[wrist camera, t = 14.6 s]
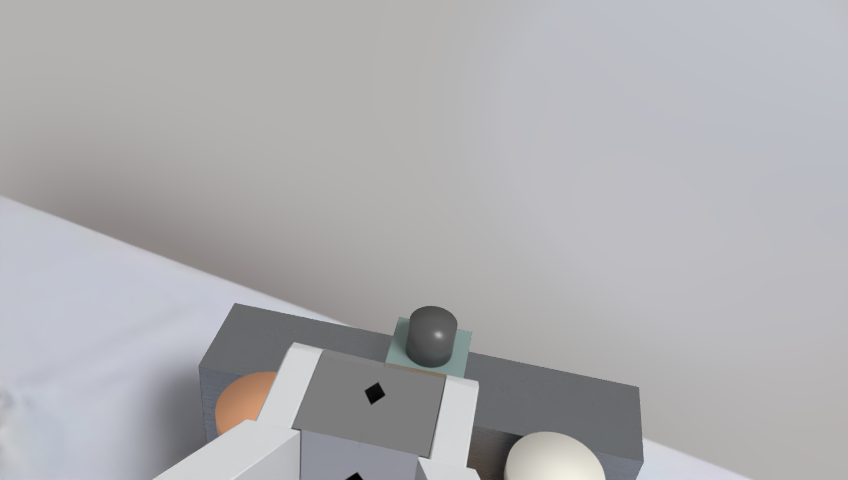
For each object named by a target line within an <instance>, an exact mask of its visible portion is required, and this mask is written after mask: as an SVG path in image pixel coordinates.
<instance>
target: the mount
mask: <svg viewBox="0 0 848 480" xmlns="http://www.w3.org/2000/svg"><path fill="white" fill-rule="evenodd" d="M392 339H393V336H390V335H386V334H381V333H376V332H371V331H366V330H362V329H357V328H352V327H347V326H343V325H338V324H333V323H328V322H323V321H319V320H314V319H309V318H304V317H299V316H295V315H290V314H285V313H280V312H275V311H271V310H266V309H261V308H256V307H251V306H247V305H242V304H237V303H235V304H234V305H233V307H232V309H231V311H230V312H229V314H228V316H227V318H226V319H225V321H224V323H223V324H222V326H221V328H220V330H219V331H218V333H217V335H216V337H215V338H214V340H213V342H212V344H211V345H210V347H209V349H208V350H207V352H206V354H205V356H204V357H203V359H202V361H201V363H200V364H199V375H200V385H201V394H202V404H203V414H204V423H205V433H206V443H207V444H208V443H209V442H211V441H213V440H214V439H216V438H217V437H219V435H218V432H217V428H216V417H215V408H216V404H217V401H218V399H219V397H220V395H221V393H222V392H223V391H224V390H225V389H226V388H227V387H228V386H229V385H230V384H231V383H233V382H234V381H236V380H238V379H239V378H241V377H244V376H246V375H249V374H253V373H258V372H278V370H279V367H280V365H281V363H282V361H283V359H284V357H285V354H286V352H287V350H288V349H289V347H290V346H291V345H292V344H293V343H294V342H296V343H300V344H304V345H308V346H313V347H317V348H321V349H328V350H332V351H336V352H340V353H344V354H349V355H353V356H357V357H361V358H365V359H370V360H374V361H378V362H382V363H385V361H386V358H387V355H388V352H389V348H390V345H391V342H392ZM464 379H469V380H474V381H478V383H479V390H478V396H477V402H476V409H475V415H474V421H473V427H472V434H471V440H470V446H469V452H468V458H467V465H466V467H467V468H471V469H475V470H476V472H477V474H478V476H479V478H480V480H504V470H505V465H506V462H507V458H508V455H509V452H510V450H511V449H512V447H513V446H514V444H515V443H516V442H517V441H519V440H520V439H521V438H523V437H525V436H527V435H529V434H532V433H537V432H555V433H560V434H564V435H567V436H569V437H571V438H573V439H576V440H577V441H579V442H580V443H582V444H583V445H585V446H586V447H587V448H588V449H589V450H590V451H591V452H592V453H593V454H594V455H595V456H596V458H597V459H598V460H599V462H600V464H601V466H602V468H603V471H604V474H605V480H636V477H637V475H638V473H639V471H640V469H641V467H642V465H643V462H644V459H643V443H642V428H641V413H640V399H639V388H638V387H635V386H630V385H626V384H621V383H616V382H611V381H607V380H602V379H597V378H592V377H587V376H582V375H578V374H573V373H568V372H563V371H558V370H554V369H549V368H544V367H539V366H534V365H529V364H524V363H520V362H515V361H511V360H506V359H501V358H496V357H491V356H486V355H482V354H477V353H472V352H468V357H467V362H466V368H465V373H464Z"/></svg>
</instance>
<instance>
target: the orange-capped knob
mask: <svg viewBox="0 0 848 480" xmlns="http://www.w3.org/2000/svg"><path fill="white" fill-rule="evenodd" d="M276 374H277V372H258V373H253V374H249V375H246V376H244V377H241V378H239V379H238V380H236V381H234V382H233V383H231V384H230V385H229V386H228V387H227V388H226V389H225V390H224V391H223V392H222V393H221V395H220V397H219V399H218V401H217V404H216V408H215V417H216V428H217V432H218V435H219V436H220V435H222V434H223V433H225V432H226V431H228V430H230V429H231V428H233V427H234V426H236V425H237V424H239V423H240V422H242V421H244V420H245V419H248V420H254V421H255V420H256V417H257V415H258V413H259V411H260V409H261V407H262V404H263V402H264V400H265V398H266V396H267V394H268V391H269V389H270V387H271V385H272V383H273V381H274V378H275V376H276Z"/></svg>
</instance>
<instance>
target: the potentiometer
mask: <svg viewBox="0 0 848 480" xmlns="http://www.w3.org/2000/svg"><path fill="white" fill-rule="evenodd" d="M471 335H472V332H469V331H465V330H460V329H457V320H456V318H455V317H454V316H453V314H451V313H450V312H449V311H447V310H445V309H443V308H440V307H436V306H426V307H422V308H419V309H417V310H416V311H414V312H413V313H412V315H411V317H410V319H407V318H402V317H399V319H398V322H397V325H396V329H395V332H394V335H393V339H392V342H391V345H390V348H389V352H388V355H387V358H386V361H385V363H391V364H396V365H401V366H406V367H411V368H416V369H421V370H426V371H431V372H436V373H441V374H446V378H447V375H450V376H455V377H459V378H464V373H465V368H466V362H467V357H468V351H469V346H470V341H471ZM445 382H446V380H445ZM444 387H445V386H444ZM443 392H444V391H443Z"/></svg>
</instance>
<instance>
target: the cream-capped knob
mask: <svg viewBox="0 0 848 480" xmlns="http://www.w3.org/2000/svg"><path fill="white" fill-rule="evenodd" d="M504 480H605V474H604V471H603V468H602V466H601V464H600V462H599V460H598V459H597V458H596V456H595V455H594V454H593V453H592V452H591V451H590V450H589V449H588V448H587V447H586V446H585V445H583V444H582V443H580V442H579V441H577V440H576V439H573V438H571V437H569V436H567V435H564V434H560V433H555V432H537V433H532V434H529V435H527V436H525V437H523V438H521V439H520V440H519V441H517V442H516V443H515V444H514V446H513V447H512V449H511V450H510V452H509V455H508V458H507V462H506V465H505V470H504Z"/></svg>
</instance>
